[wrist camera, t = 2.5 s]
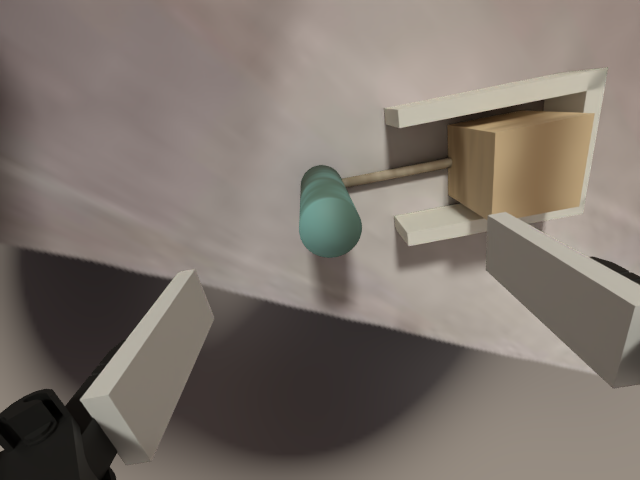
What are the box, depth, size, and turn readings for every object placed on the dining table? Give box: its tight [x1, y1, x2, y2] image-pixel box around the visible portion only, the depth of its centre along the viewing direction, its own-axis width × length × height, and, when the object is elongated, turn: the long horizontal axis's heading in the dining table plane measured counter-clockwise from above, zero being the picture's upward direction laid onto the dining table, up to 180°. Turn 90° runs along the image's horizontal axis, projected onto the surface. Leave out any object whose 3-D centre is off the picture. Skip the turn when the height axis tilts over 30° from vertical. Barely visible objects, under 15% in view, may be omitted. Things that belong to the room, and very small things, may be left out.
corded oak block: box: [299, 110, 595, 258], centre depth 22 cm, size 19×6×10 cm, turn 101°
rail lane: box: [384, 67, 608, 246], centre depth 25 cm, size 14×10×4 cm
